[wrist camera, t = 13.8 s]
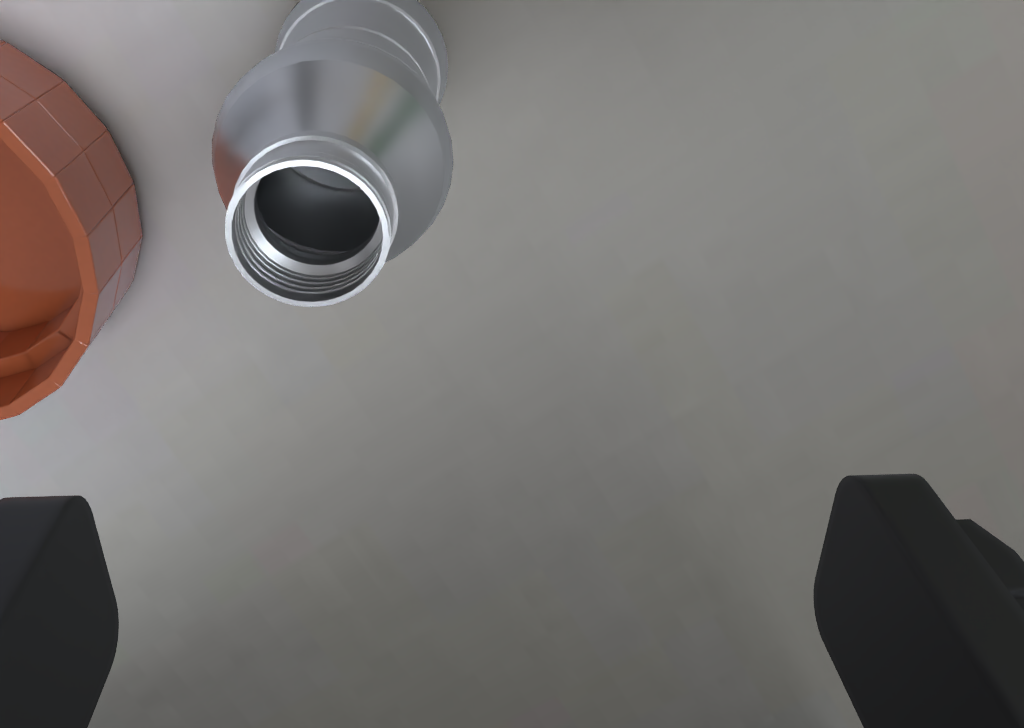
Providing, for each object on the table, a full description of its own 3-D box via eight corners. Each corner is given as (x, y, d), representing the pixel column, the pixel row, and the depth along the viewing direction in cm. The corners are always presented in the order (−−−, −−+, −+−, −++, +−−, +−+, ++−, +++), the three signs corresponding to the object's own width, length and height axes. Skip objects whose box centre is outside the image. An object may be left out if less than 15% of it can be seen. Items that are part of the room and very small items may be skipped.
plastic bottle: (255, 7, 37) (91, 160, 19) (411, -58, 36) (385, 41, 19) (327, 154, 40) (241, 398, 23) (472, 97, 39) (498, 305, 22)
